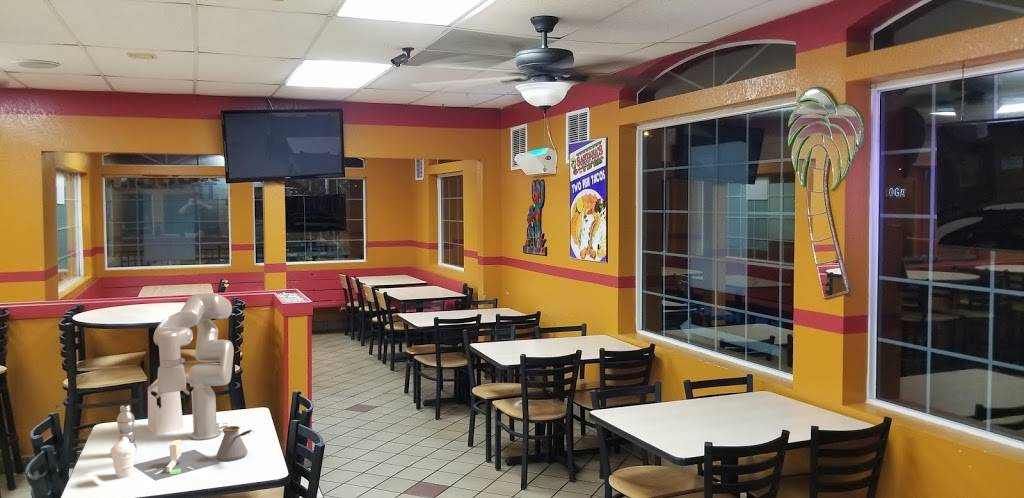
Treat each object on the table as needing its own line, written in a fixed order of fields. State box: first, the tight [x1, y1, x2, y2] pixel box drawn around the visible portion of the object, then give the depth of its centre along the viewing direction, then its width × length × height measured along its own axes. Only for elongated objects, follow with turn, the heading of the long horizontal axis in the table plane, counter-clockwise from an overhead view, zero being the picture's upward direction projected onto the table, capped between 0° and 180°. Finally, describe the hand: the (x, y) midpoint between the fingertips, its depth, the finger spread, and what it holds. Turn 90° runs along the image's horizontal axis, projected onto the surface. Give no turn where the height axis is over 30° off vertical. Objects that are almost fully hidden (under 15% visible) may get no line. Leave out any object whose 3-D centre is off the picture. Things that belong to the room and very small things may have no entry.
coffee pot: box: [216, 425, 255, 462], centre depth 293 cm, size 21×12×15 cm, turn 49°
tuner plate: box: [133, 449, 221, 481], centre depth 289 cm, size 24×24×2 cm
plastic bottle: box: [116, 404, 138, 452], centre depth 306 cm, size 6×7×20 cm
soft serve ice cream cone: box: [109, 437, 137, 479], centre depth 277 cm, size 8×8×16 cm
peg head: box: [166, 439, 182, 472], centre depth 285 cm, size 13×2×8 cm, turn 9°
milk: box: [147, 377, 184, 436], centre depth 340 cm, size 12×12×26 cm
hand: (173, 405), depth 295 cm, fingers open, 9 cm apart
